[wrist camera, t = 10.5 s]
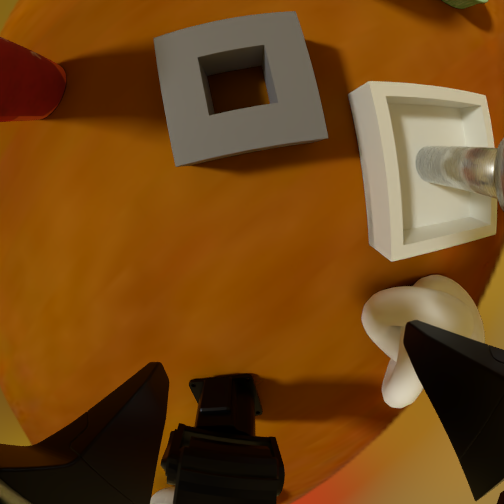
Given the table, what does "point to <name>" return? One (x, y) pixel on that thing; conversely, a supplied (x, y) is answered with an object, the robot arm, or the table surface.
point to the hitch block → (228, 59)
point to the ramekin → (463, 3)
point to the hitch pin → (464, 168)
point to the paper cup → (28, 83)
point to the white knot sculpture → (423, 309)
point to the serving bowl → (163, 496)
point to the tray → (404, 168)
